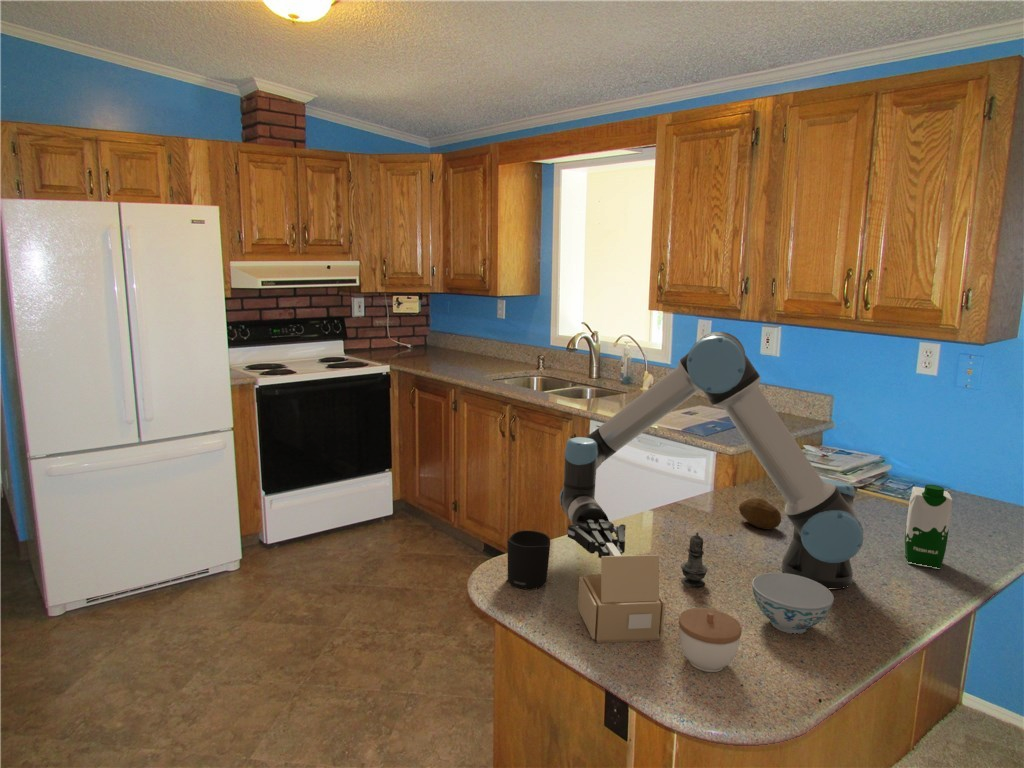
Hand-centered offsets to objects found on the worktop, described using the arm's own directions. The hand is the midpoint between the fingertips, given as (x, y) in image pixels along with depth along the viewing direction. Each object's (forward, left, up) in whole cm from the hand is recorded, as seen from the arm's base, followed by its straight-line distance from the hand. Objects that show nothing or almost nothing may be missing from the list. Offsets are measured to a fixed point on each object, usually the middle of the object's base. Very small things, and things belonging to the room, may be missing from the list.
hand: (618, 562), depth 130 cm
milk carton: (-63, -66, -14) cm, 92 cm away
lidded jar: (-18, +4, -14) cm, 23 cm away
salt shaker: (-12, -28, -14) cm, 33 cm away
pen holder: (+22, -12, -14) cm, 29 cm away
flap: (-4, +4, -6) cm, 8 cm away
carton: (-1, -2, -14) cm, 14 cm away
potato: (-24, -73, -14) cm, 77 cm away
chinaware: (-32, -17, -14) cm, 38 cm away
